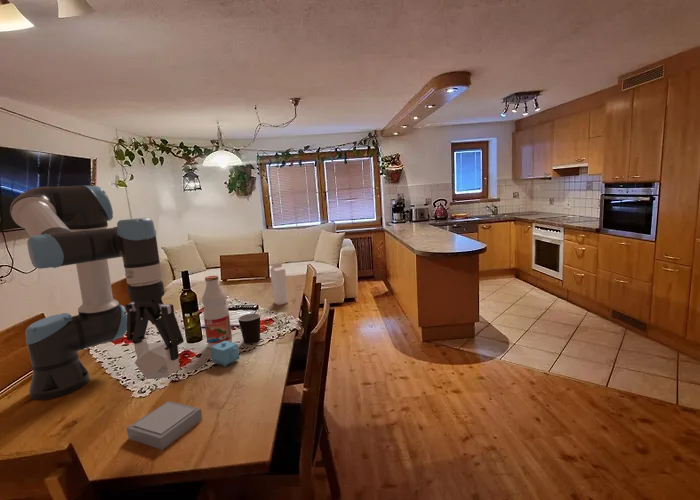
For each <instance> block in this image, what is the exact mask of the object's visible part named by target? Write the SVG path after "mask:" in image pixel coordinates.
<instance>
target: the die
mask: <svg viewBox="0 0 700 500" xmlns="http://www.w3.org/2000/svg"><path fill="white" fill-rule="evenodd" d="M166 347H167V346H166V344H165V343H164V341H162V342H152V343H147V346H146V347H145V349H144V350H143V351H142V353H141V354H140V356H139V357H138V359H136V360H135V362H134V364H135V365H136V367H137V368H138V369H139V371H140V372H141V373H142V375H143V376H144V378H145V379H146V380H150V379H163V378H169V376H170V375H171V374H168V368H167V362H166V355H165V349H164V348H166ZM180 359H181V358H180V356H179V358H178V360H180Z"/></svg>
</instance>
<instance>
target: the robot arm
mask: <svg viewBox="0 0 700 500" xmlns="http://www.w3.org/2000/svg"><path fill="white" fill-rule="evenodd" d="M9 214H10V216H11V218H12V220H13V221H14V222H15V224H16V225H17V226H19V227H21V228H23V229H25V231H26V233H27V235H29V238H27V242H26V243H27V251H28V255H29V259H30V261H31V265H32V266H33V267H34V268H36V269H49V268H53V269H55V268H59V267H65V266H71V265H76V271H77V275H78V276H77V277H78V285H79V289H80V295H81V296H80V297H81V301H82V303H81V305H80V306H79V307H78V308H77V313H78V314H77V315H76V314H75V315H71V314H70V313H69V312H63V313H58V314H53V315H49V316H46V317H43V318H41V319H38V320H37V321H34V322H33V323H31V324H29V326H27V328H26V329H25V332H24V334H25V335H24V336H25V344H26V345H27V349H28V353H29V359H30V363H31V368H32V376H31V381H30V385H29V396H30V398H31V399H32V400H34V401H45V400H50V399H55V398H59V397H62V396H65V395H68V394H71V393H73V392H75V391H77V390H79V389H81V388H82V387H84V386H85V385H86V384H87V383H89V382H90V374H89V373H90V372H89V371H88V370H87V368H86V367H85V365H84V364H83V362H82V361H81V359H80V356H79V352H80V351H81V350H86V349H89V348H92V347H96V346H99V345H103V344H106V343H110V342H113V341H115V340H117V339H121V338H123V337H124V336H125V335H126V340H127V341H131V343H132V344H134V350H135V354H136V357H137V359H138V357H139V356H140V354H141V353H142V351H143V350H144V349H145V347H146V346H147V344H148V341H147V337H146V336H145V335H146V332H147V328H148V325H149V324H148V323H149V321H150V323H151V324H152V325H154V326H155V327H156V329H157V331H158V333H159V335H160V337H161V339H162V340H163V341H162V342H164V343H165V344H166V346H167V347H166V348H164V349H165V355H166V362H167V368H168V374H170V375H172V374H174V373H176V372H177V371H180V370H181V368H180V361H179V360H180V359H179V360H178V358H179V357H180V354H179V348H178V346H179V345H181V344H183V343H184V337H183V334H182V331H181V328H180V326H179V323H178V321H177V318H176V315H175V310H174V305H173V304H172V303H170V304H164V302H163V299H162V298H163V296H165V294H166V293H165V292H166V291H165V287H164V282H163V281H162V279H163V273H162V266H161V262H160V254H159V248H158V241H157V231H156V229H155V224H154V221H153V219H151V218H149V217H139V218H128V219H120V220H118V222H117V223H116V226H114V227H108V226H109V224H108V222H109V221H112V220H113V218H114V212H113V206H112V203H111V200H110V198H109V196H108V194H107V192H106V191H105V190H104V189H103V188H102V187H101V186H97V185H84V184H83V185H65V186H64V185H63V186H39V187H38V186H37V187H34V188H30V189H29V190H25V191H23V192H21V193H20V194H19V195H18V196H16V197H15V198H14V199H13V200H12V202H11V204H10V207H9ZM116 258H122V262H123V267H124V272H125V273H124V274H125V280H126V283H127V284H128V286H127V293H128V299H129V303H126V304H125V306H124V305H122V304H120V303H119V301H118V300H117V299H115V298H114V297H113V289H112V282H111V275H110V270H109V263H108V260H110V259H111V260H112V259H116ZM130 301H131V302H130ZM137 359H136V360H137Z"/></svg>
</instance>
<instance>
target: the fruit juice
mask: <svg viewBox="0 0 700 500" xmlns="http://www.w3.org/2000/svg"><path fill="white" fill-rule="evenodd" d="M204 281H205V283H206V285H205V290H204V292H203V294H202V297H201V302H202V305H203V307H204V308H203V312H202V314H203V321H204V327H205V328H204V329H205V334H206V335H205V336H206V342H207V347H208V348H209V349H211V347H212V346H214V345H216V344H218V343H221V342H223V341H229V342H232V343H233V337H232V336H233V335H232V328H231V321H230V312H229V307H228V305H227V293H226V292H225V291H223V289H222V288H221V286H220V283H219V275H214V274H213V275H209V276H205V278H204Z"/></svg>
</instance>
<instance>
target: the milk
mask: <svg viewBox="0 0 700 500" xmlns="http://www.w3.org/2000/svg"><path fill="white" fill-rule="evenodd" d="M269 271H270V272H269V273H270V280H271V282H270V283H271V290H272V298H273V304H275V305H277V306H281V305H284V304H288V303H289V296H288V295H289V294H288V287H287V275H286V269H285V267H284V266H283V262H278V263H273V264H271V268H270V270H269Z"/></svg>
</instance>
